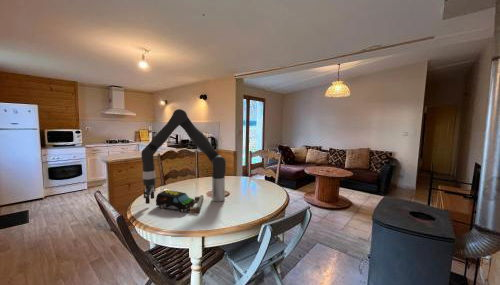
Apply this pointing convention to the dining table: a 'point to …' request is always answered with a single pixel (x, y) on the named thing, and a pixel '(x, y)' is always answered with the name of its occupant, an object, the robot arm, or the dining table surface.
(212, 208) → the dining table surface
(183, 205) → the toy van
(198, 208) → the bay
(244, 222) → the dining table surface
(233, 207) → the dining table surface
